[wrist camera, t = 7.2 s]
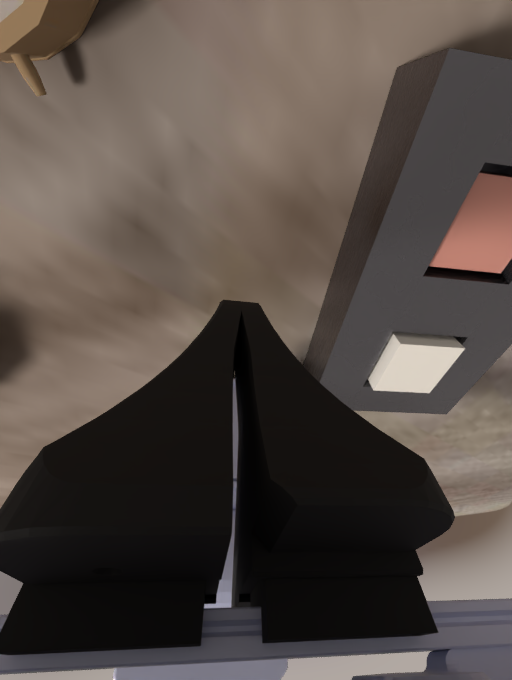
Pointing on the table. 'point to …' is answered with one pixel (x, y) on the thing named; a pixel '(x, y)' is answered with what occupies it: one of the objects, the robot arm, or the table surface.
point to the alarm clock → (40, 32)
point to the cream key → (414, 362)
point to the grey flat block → (420, 236)
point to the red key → (480, 228)
